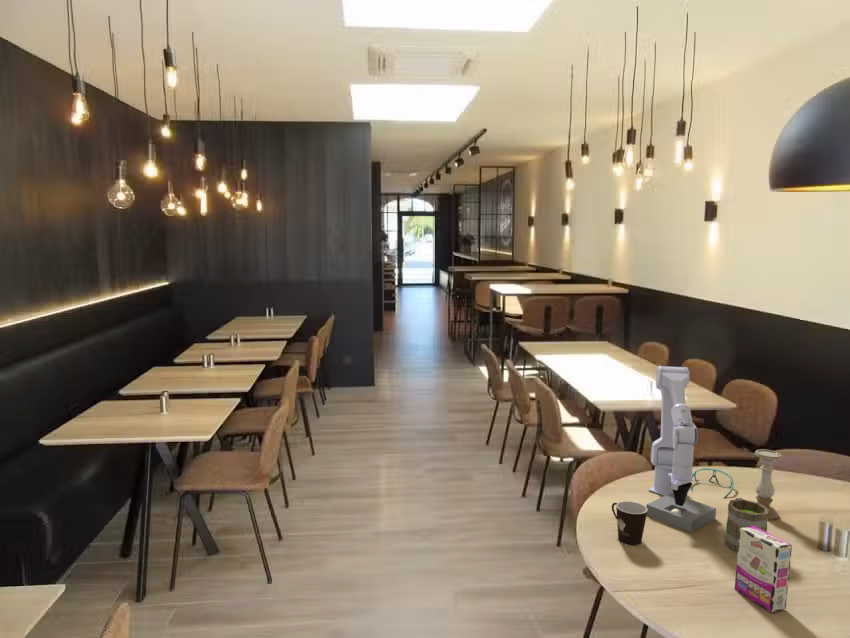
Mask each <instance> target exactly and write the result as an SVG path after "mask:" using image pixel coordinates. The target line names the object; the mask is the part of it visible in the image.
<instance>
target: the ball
mask: <svg viewBox="0 0 850 638" xmlns="http://www.w3.org/2000/svg"><path fill="white" fill-rule="evenodd" d="M671 512H674V513H677V514H680V513H681V511H680V510H678V509H673V510H672V511H671Z"/></svg>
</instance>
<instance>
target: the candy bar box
mask: <svg viewBox="0 0 850 638" xmlns="http://www.w3.org/2000/svg"><path fill="white" fill-rule="evenodd" d="M792 548H793V545H792V544H790V543H789V542H787V541H785V540H783V539H781V538H779V537H777V536H775V535H773V534H771V533H769V532H768V531H767V532H765V531H763V530H761V529H759V528H757V527H755V526H748V527H743V528H740V533H739V545H738V553H737V556H736V557H737V558H736V567H735V569H736V571H735V580H734V590H735V591H737V593H740V594H742V595H743V596H744V597H746V598H748V599H749V600H751V601H753V602H754V603H755V604H757V605H759V606H760V607H762V608H764V609H765V610H766V611H768V612H769V611H770V612H769V613H772V612H773V613H776V612H775V611H777V612H780V611H779V610H782V611H785V610H786V609H787V599H788V589H789V579H790V568H791V559H792V550H793V549H792ZM784 609H785V610H784Z"/></svg>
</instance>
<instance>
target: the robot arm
mask: <svg viewBox="0 0 850 638" xmlns="http://www.w3.org/2000/svg"><path fill="white" fill-rule="evenodd" d="M690 376H691V375H690V370H689V368H688V367H687V366H684V367H683V366H666V365H664V366H662V365H658V366H657V368H656V372H655V389H657V390H659V391H660V394H661V409H660V410H661V414H660V415H661V416H660V417H661V418H660V437H659V438H658V439H656V440H654V441H653V442H652V444H651V450H650V462H651V464H652V465H653V466H654V475H653V476H654V478H653V486H651V487H649V488H648V491H650V492H652V493H656V494H658V495H662V497H664V496H666V495H668V494H670V493H674V499H675V504H676V505H679V506H683V505H684V503H685V499H686V498H687V496H688V493H689V491H690V490H691V488H692V486H693V483H692V481H693V477H692V474H693V464H694V454H695V453H694V452H695V451H694V450H695V446H696V445H697V443H698V439H699V438H698V436H699V435H698V427H697V426H696V424H695V423H694V422H693V417H692V413H691V412H692V411H691V409H690V407H689V406H688V405H686V393H685V392H686V391H685V389H686V388H688V384H689V383H690V379H691V378H690ZM690 487H691V488H690Z"/></svg>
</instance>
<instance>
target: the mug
mask: <svg viewBox="0 0 850 638" xmlns="http://www.w3.org/2000/svg"><path fill="white" fill-rule="evenodd" d="M727 506H728V507H727V509H728V511H727V521H726V526H725V527H726V536H725V542H724V546H725V547H727V548H728V549H730V550H731V551H732V552H733V553H737V554H738V545H739V533H740V528H743V527H748V526H755V527H757V528H759V529H761V530H763V531H765V532H767V533H768V520H767V517H768V512H769V509H768V508H767V507H765V506H763V505H762V504H760V503H758V501H757V502H756V501H754V500H747V499H743V498H742V497H736V498H735V499H730V500H729V502H728V504H727Z"/></svg>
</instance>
